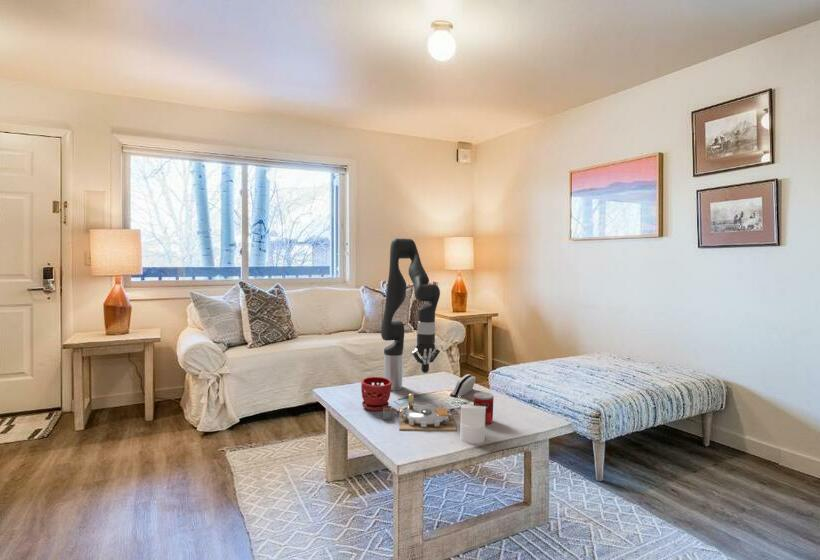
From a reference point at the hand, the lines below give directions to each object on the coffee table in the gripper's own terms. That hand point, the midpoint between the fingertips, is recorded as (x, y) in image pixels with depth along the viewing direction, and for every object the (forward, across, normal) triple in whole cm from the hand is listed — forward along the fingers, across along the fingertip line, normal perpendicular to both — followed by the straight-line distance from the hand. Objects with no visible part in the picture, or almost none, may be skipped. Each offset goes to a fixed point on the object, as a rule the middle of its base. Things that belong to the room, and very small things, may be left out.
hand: (425, 372), depth 198 cm
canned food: (+18, -18, +18) cm, 31 cm away
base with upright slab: (+17, -4, +31) cm, 35 cm away
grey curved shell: (+18, -30, -16) cm, 39 cm away
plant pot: (+18, +16, -14) cm, 28 cm away
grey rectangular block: (+18, +17, -1) cm, 24 cm away
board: (+17, +3, +8) cm, 19 cm away
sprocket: (+17, +3, +8) cm, 19 cm away
